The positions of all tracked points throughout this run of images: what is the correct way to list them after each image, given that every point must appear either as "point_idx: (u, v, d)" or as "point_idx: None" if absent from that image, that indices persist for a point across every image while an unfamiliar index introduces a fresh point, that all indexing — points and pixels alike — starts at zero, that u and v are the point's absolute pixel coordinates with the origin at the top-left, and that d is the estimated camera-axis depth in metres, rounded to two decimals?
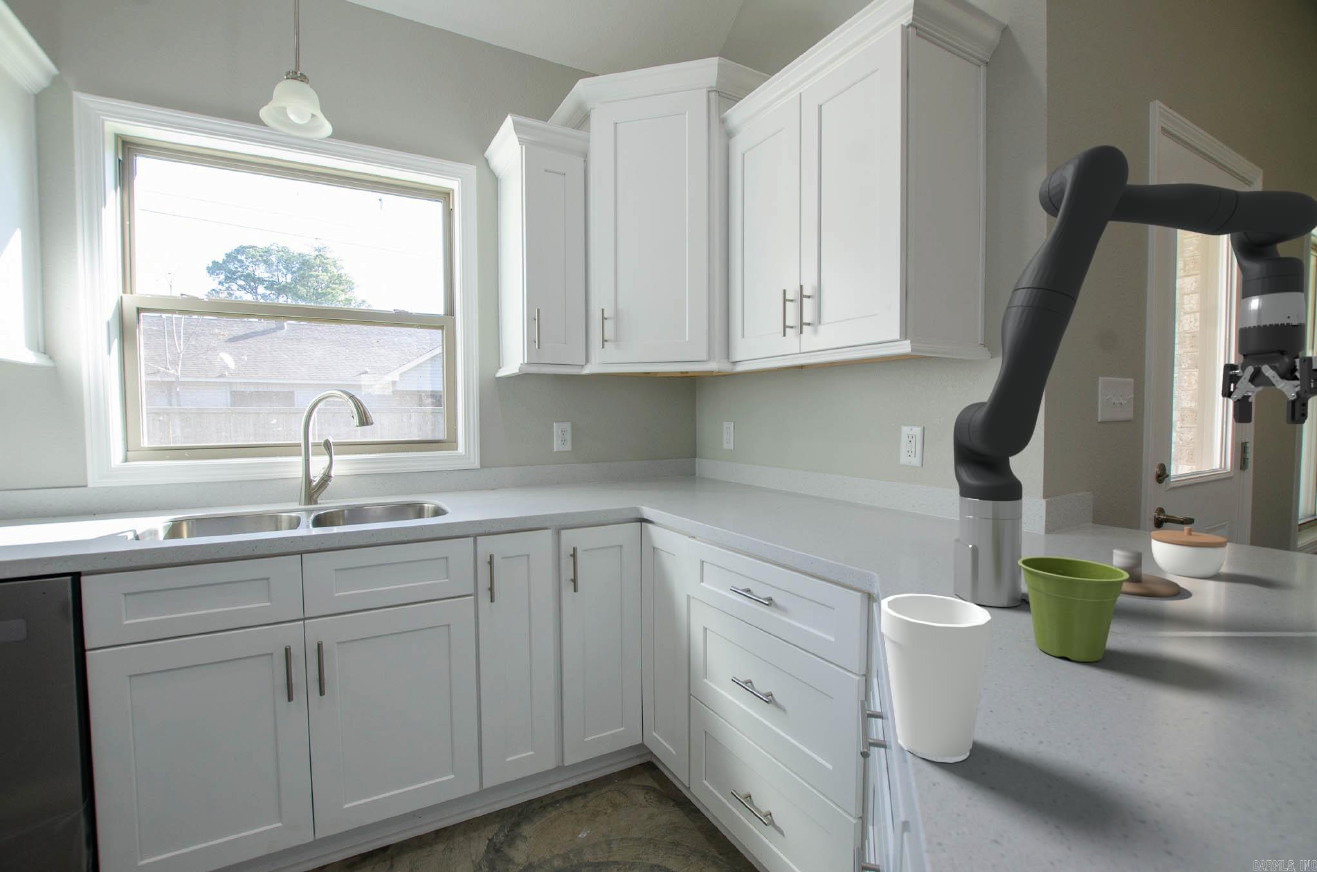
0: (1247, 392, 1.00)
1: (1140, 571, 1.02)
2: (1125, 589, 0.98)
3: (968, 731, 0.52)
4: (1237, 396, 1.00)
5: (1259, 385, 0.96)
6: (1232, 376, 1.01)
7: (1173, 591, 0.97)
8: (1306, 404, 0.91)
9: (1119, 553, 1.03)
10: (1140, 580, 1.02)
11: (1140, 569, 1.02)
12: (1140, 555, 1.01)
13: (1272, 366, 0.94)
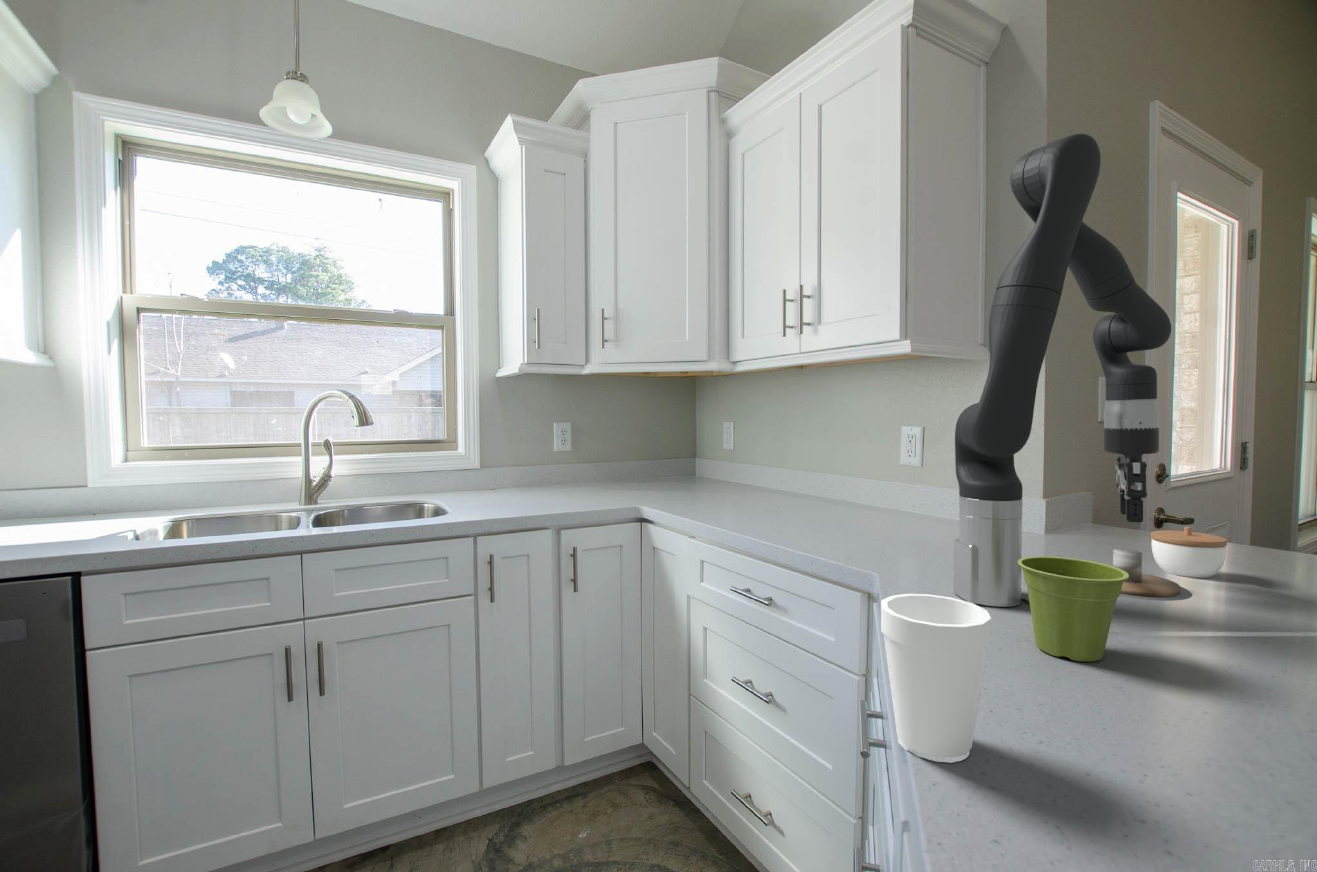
0: None
1: (1140, 571, 1.02)
2: (1125, 589, 0.98)
3: (968, 731, 0.52)
4: None
5: None
6: None
7: (1173, 591, 0.97)
8: None
9: (1119, 553, 1.03)
10: (1140, 580, 1.02)
11: (1140, 569, 1.02)
12: (1140, 555, 1.01)
13: None
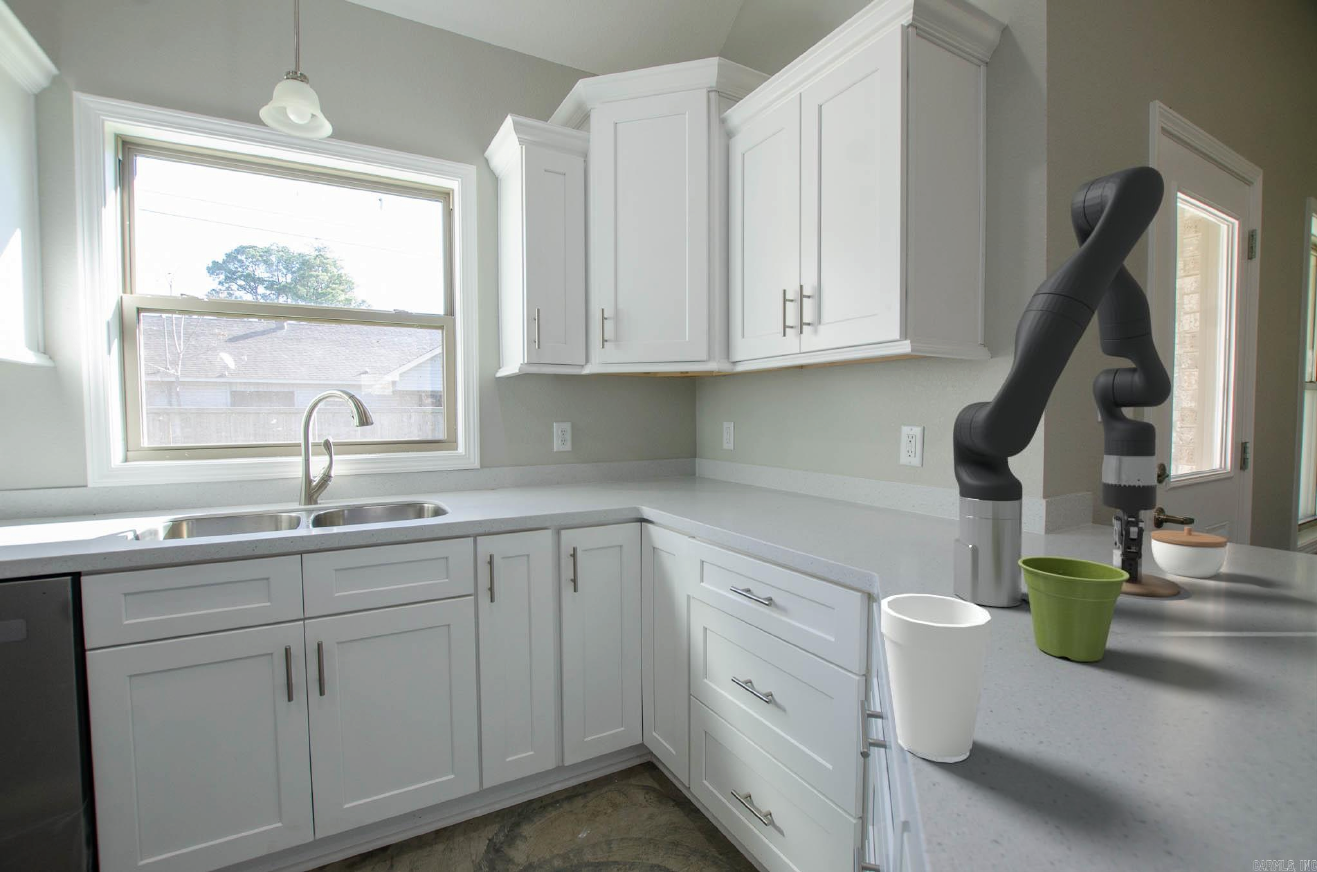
0: None
1: (1140, 571, 1.02)
2: (1125, 589, 0.98)
3: (968, 731, 0.52)
4: None
5: None
6: None
7: (1173, 591, 0.97)
8: None
9: (1119, 553, 1.03)
10: (1140, 580, 1.02)
11: (1140, 569, 1.02)
12: None
13: None
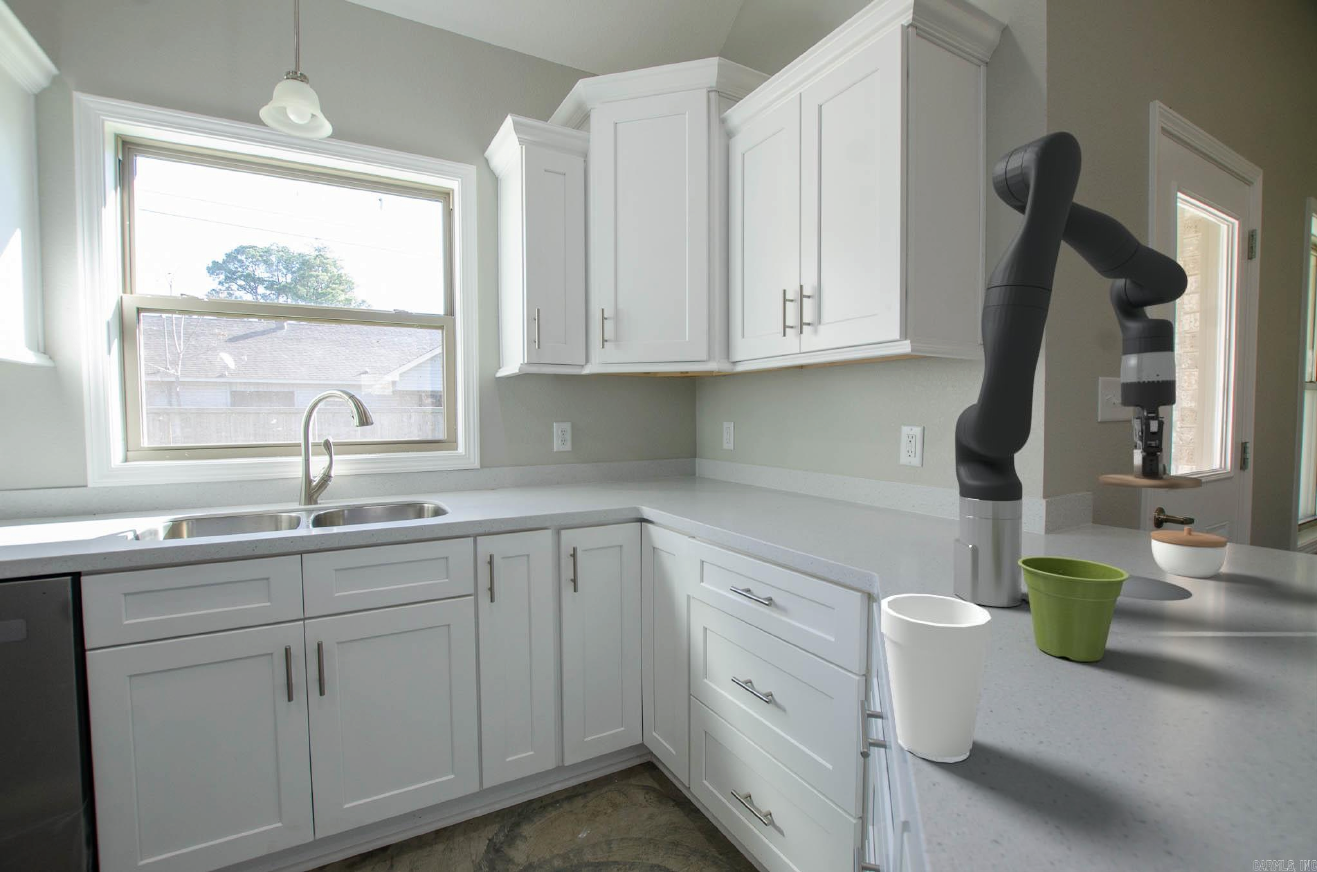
0: None
1: (1161, 468, 1.02)
2: (1147, 482, 0.99)
3: (968, 731, 0.52)
4: None
5: None
6: None
7: (1195, 482, 0.98)
8: None
9: None
10: (1161, 477, 1.02)
11: (1161, 466, 1.02)
12: None
13: None
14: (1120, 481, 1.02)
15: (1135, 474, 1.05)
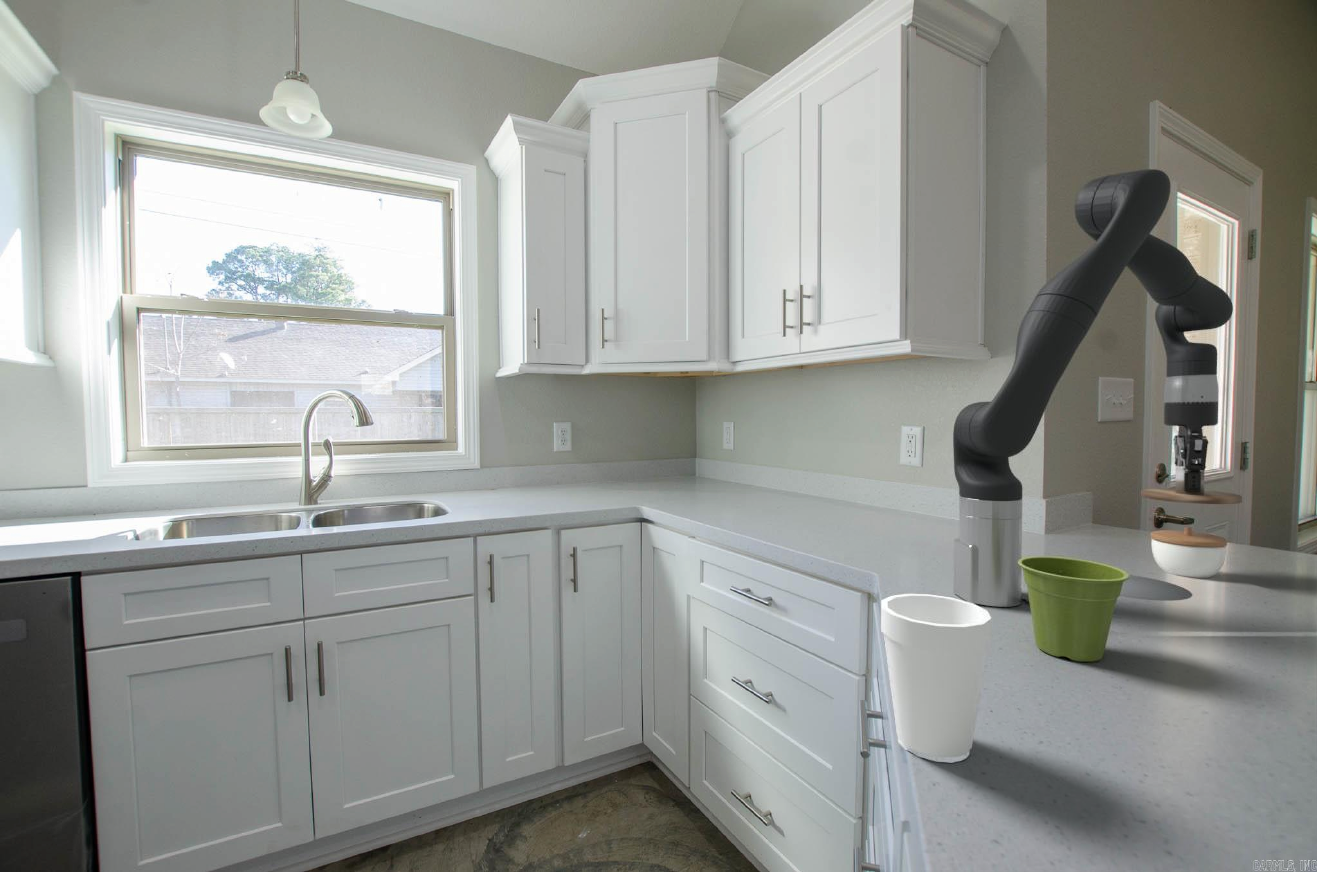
0: None
1: (1203, 484, 1.08)
2: (1191, 498, 1.05)
3: (968, 731, 0.52)
4: None
5: None
6: None
7: (1236, 498, 1.04)
8: None
9: (1182, 468, 1.09)
10: (1203, 492, 1.08)
11: (1203, 482, 1.08)
12: None
13: None
14: (1164, 496, 1.08)
15: (1177, 489, 1.10)
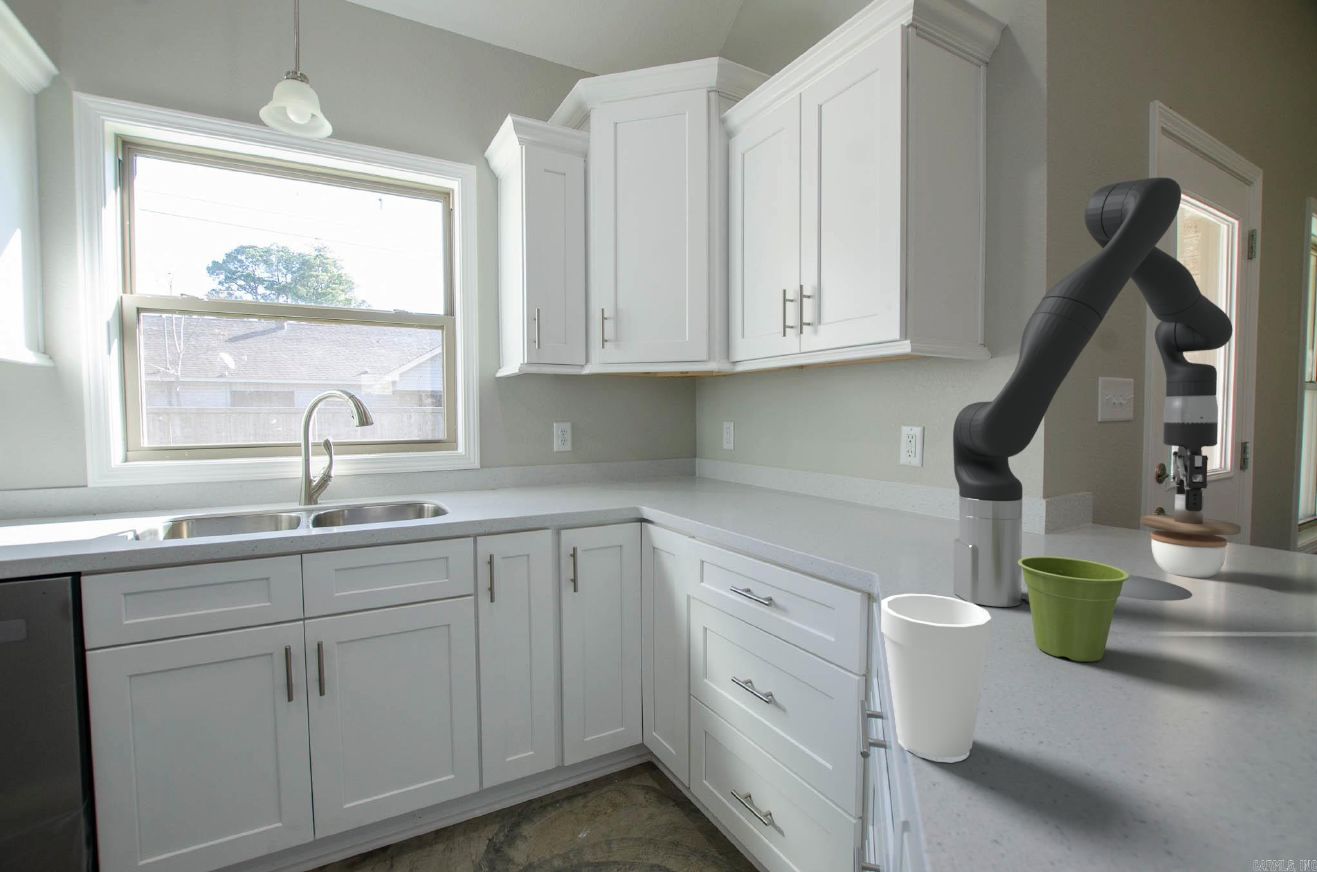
0: None
1: (1202, 513, 1.08)
2: (1190, 528, 1.05)
3: (968, 731, 0.52)
4: None
5: None
6: None
7: (1235, 529, 1.04)
8: None
9: (1182, 497, 1.09)
10: (1202, 521, 1.09)
11: (1202, 511, 1.08)
12: (1202, 498, 1.08)
13: None
14: (1163, 525, 1.08)
15: (1176, 518, 1.11)
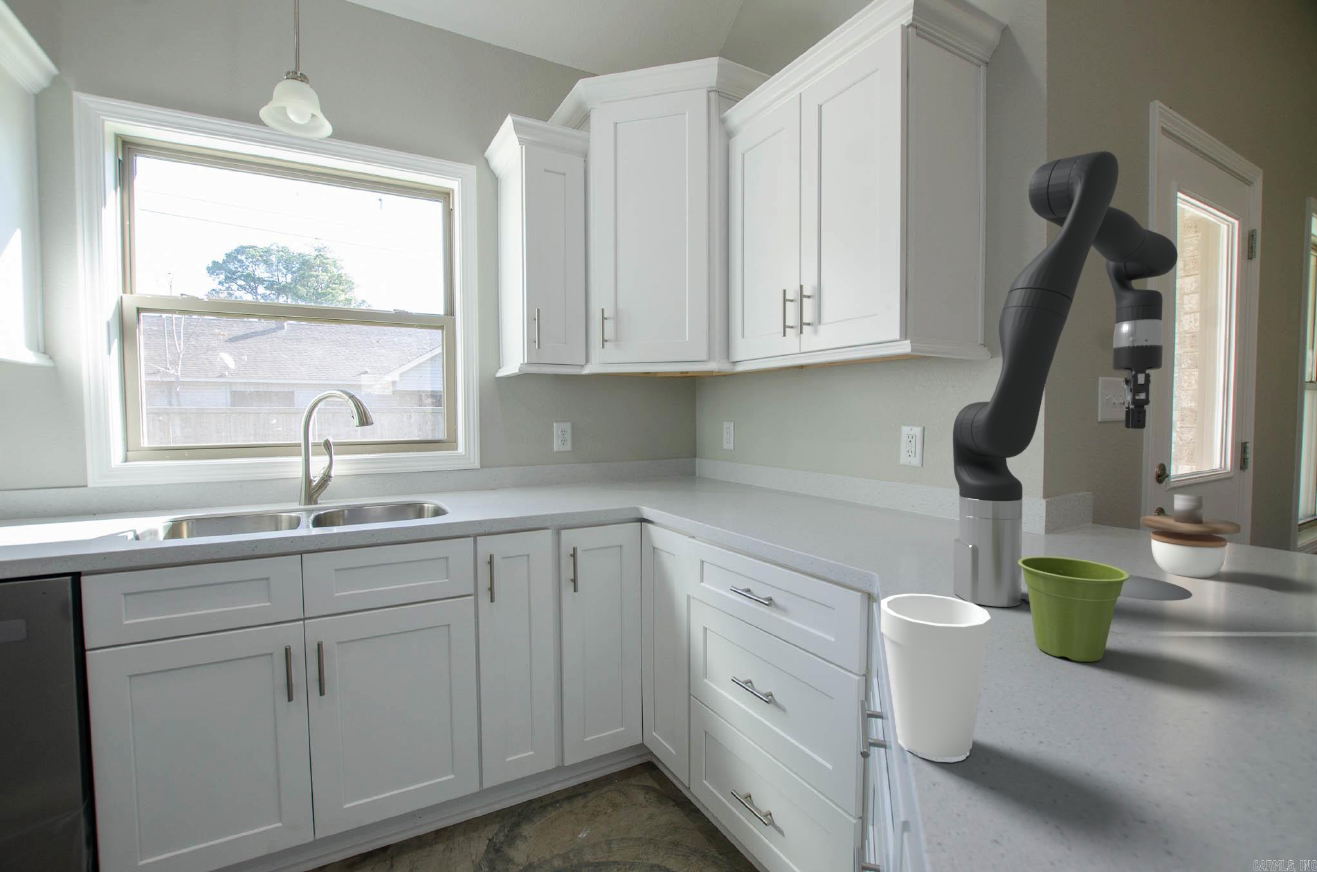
0: None
1: (1201, 513, 1.08)
2: (1189, 528, 1.05)
3: (968, 731, 0.52)
4: (1146, 404, 1.10)
5: None
6: None
7: (1235, 529, 1.04)
8: None
9: (1181, 497, 1.10)
10: (1201, 521, 1.09)
11: (1201, 511, 1.08)
12: (1201, 498, 1.08)
13: None
14: (1163, 525, 1.08)
15: (1176, 518, 1.11)
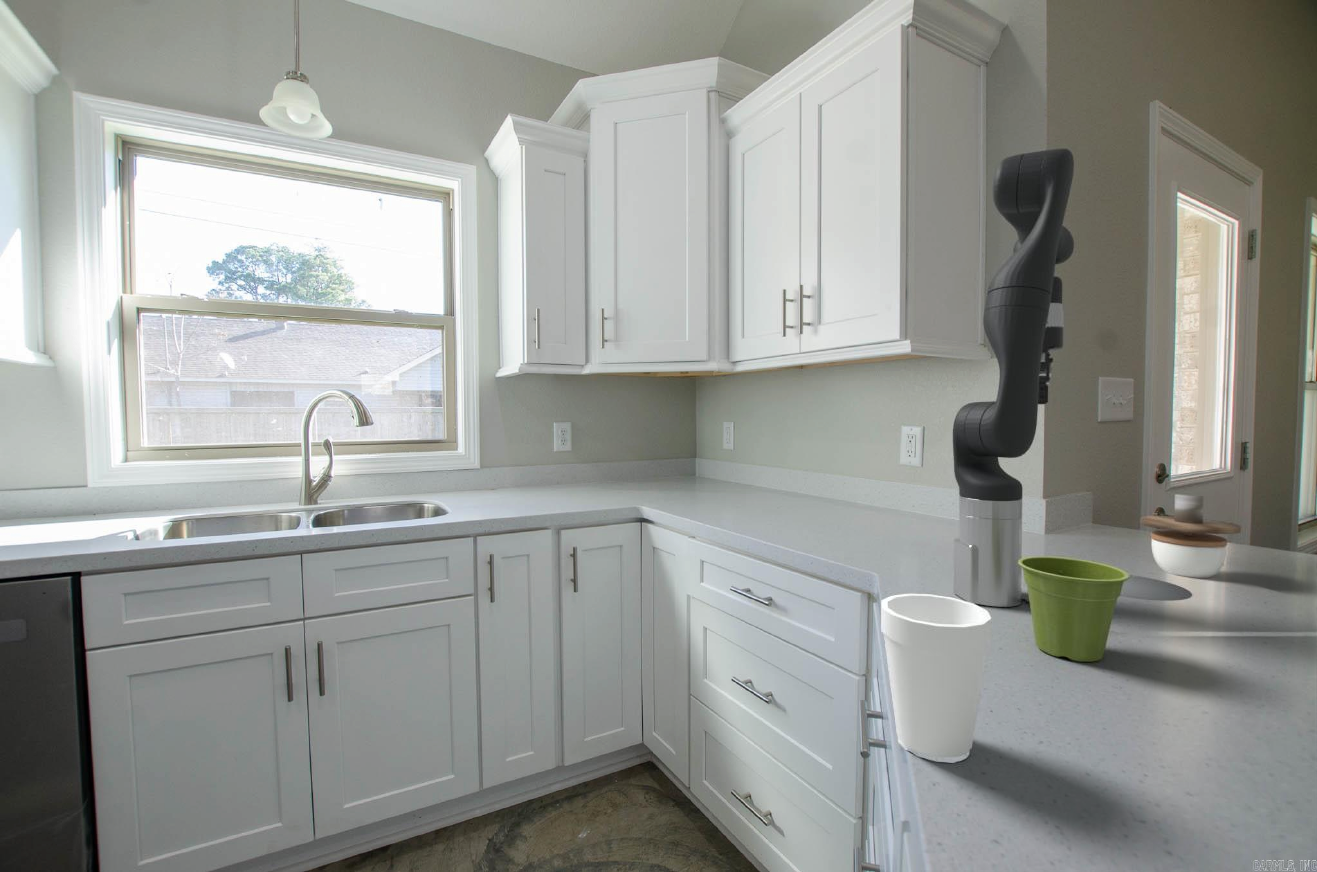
0: None
1: (1202, 513, 1.09)
2: (1190, 527, 1.05)
3: (968, 731, 0.52)
4: (1048, 381, 1.20)
5: None
6: None
7: (1235, 529, 1.04)
8: None
9: (1181, 496, 1.10)
10: (1202, 521, 1.09)
11: (1202, 511, 1.09)
12: (1202, 498, 1.08)
13: None
14: (1163, 524, 1.08)
15: (1176, 517, 1.11)
